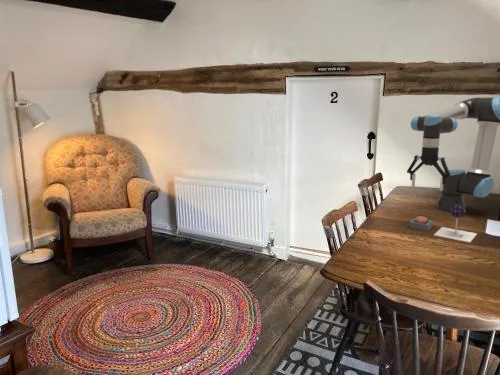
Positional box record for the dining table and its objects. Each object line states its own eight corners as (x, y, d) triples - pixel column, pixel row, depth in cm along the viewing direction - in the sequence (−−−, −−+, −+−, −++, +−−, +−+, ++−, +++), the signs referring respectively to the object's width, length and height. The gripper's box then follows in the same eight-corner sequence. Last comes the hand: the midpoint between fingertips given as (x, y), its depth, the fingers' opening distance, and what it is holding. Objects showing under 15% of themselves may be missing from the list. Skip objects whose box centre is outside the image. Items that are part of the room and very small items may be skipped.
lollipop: (465, 236, 192) (468, 206, 188) (449, 236, 193) (452, 206, 190) (461, 232, 198) (464, 202, 195) (446, 231, 200) (449, 202, 196)
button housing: (415, 222, 214) (415, 217, 214) (432, 226, 209) (433, 220, 208) (409, 227, 208) (409, 221, 207) (427, 231, 202) (427, 225, 201)
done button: (417, 221, 211) (418, 215, 210) (427, 222, 208) (428, 217, 207) (414, 223, 207) (415, 218, 207) (424, 225, 204) (425, 219, 203)
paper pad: (442, 227, 206) (442, 226, 206) (476, 234, 196) (477, 233, 196) (433, 235, 196) (433, 234, 196) (470, 242, 186) (470, 241, 186)
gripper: (402, 145, 202) (399, 186, 207) (456, 149, 187) (451, 193, 192) (407, 144, 208) (404, 183, 213) (460, 147, 192) (455, 190, 197)
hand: (426, 188), depth 202 cm, fingers open, 13 cm apart
